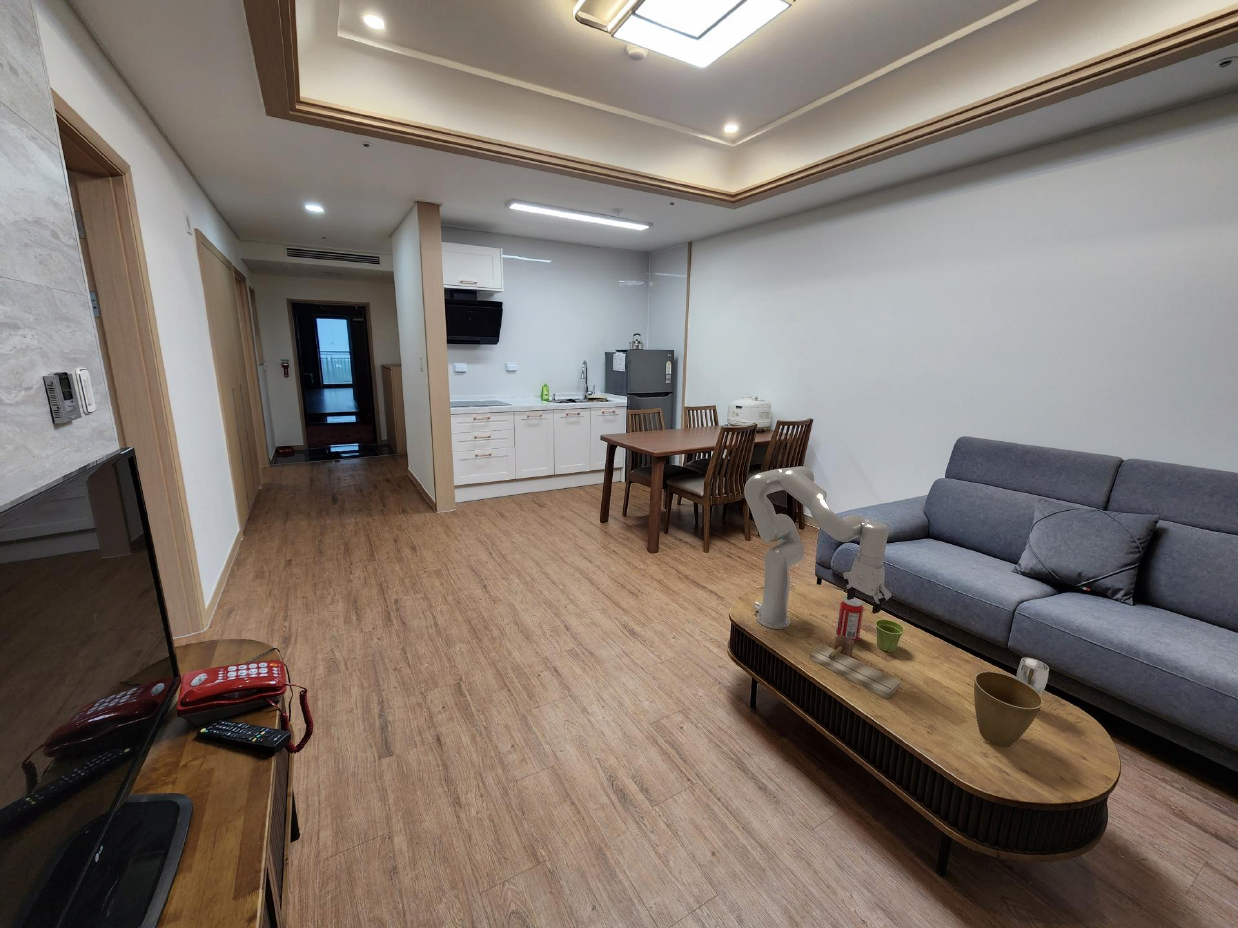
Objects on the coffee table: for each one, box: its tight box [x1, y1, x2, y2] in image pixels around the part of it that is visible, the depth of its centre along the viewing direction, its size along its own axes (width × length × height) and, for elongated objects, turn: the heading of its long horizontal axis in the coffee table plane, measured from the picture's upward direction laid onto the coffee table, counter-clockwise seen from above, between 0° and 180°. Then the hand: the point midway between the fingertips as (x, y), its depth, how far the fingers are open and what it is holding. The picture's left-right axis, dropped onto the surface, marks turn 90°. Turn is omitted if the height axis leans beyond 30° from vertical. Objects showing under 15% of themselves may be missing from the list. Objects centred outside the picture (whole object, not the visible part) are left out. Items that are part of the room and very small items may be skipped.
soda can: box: [835, 596, 865, 642], centre depth 185 cm, size 8×8×15 cm
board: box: [809, 643, 901, 700], centre depth 166 cm, size 26×9×2 cm, turn 40°
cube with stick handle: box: [829, 634, 855, 659], centre depth 173 cm, size 5×11×6 cm, turn 130°
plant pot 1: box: [874, 618, 905, 653], centre depth 180 cm, size 9×9×9 cm
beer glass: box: [1015, 657, 1050, 697], centre depth 150 cm, size 7×7×15 cm
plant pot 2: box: [973, 670, 1044, 748], centre depth 137 cm, size 15×15×16 cm
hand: (862, 605), depth 168 cm, fingers open, 9 cm apart
